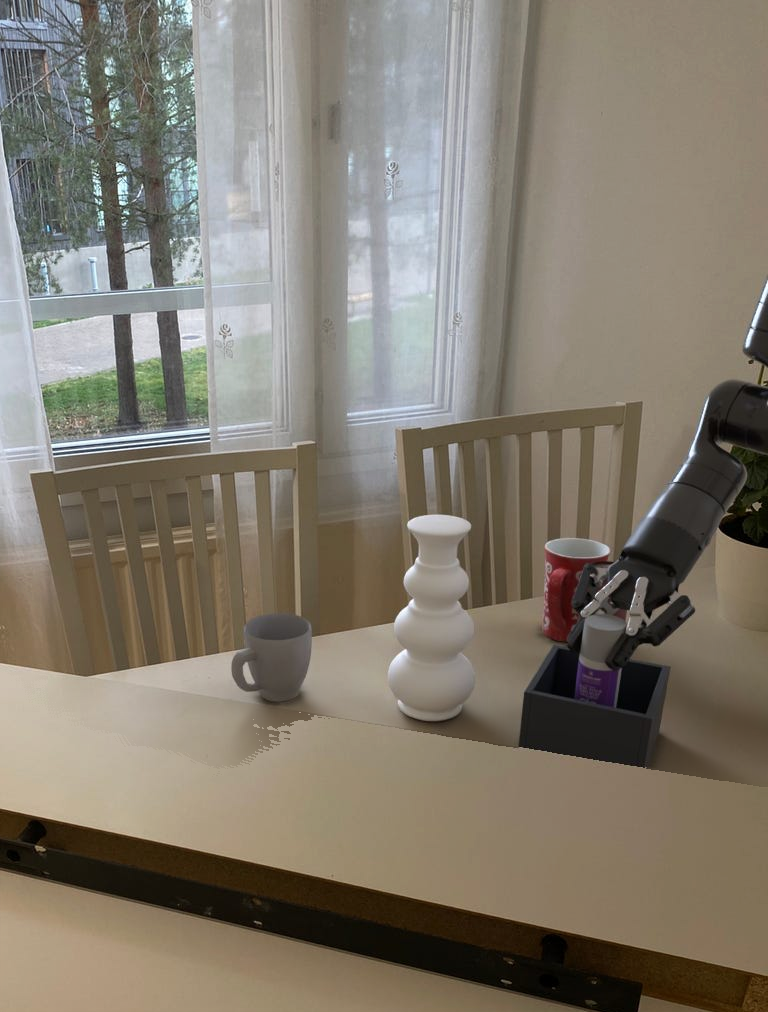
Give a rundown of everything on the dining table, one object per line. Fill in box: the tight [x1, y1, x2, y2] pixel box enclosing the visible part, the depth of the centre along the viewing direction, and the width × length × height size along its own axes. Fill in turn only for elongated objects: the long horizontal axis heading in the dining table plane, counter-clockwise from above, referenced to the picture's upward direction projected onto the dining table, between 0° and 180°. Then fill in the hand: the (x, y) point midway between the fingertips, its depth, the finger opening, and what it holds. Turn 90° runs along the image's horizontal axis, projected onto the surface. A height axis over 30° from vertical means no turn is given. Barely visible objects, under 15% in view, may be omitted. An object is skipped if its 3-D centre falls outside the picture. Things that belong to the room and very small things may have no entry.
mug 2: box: [542, 537, 611, 643], centre depth 132 cm, size 13×9×14 cm
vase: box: [387, 514, 476, 722], centre depth 111 cm, size 11×11×25 cm
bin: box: [518, 644, 672, 769], centre depth 106 cm, size 14×14×9 cm
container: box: [574, 614, 628, 708], centre depth 104 cm, size 5×5×15 cm
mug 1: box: [230, 612, 313, 703], centre depth 118 cm, size 12×9×10 cm
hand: (591, 658), depth 102 cm, fingers closed on container, 4 cm apart
